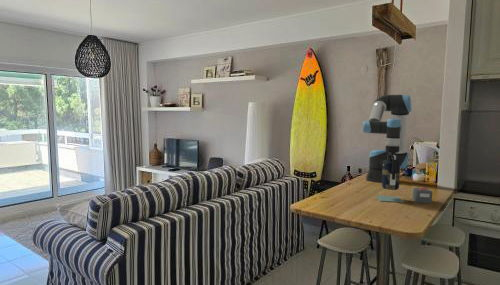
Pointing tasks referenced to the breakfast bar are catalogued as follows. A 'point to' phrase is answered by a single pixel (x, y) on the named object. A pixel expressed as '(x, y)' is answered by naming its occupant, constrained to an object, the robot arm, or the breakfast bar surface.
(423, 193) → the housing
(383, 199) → the mat
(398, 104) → the robot arm
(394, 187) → the canister
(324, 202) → the breakfast bar surface
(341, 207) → the breakfast bar surface
